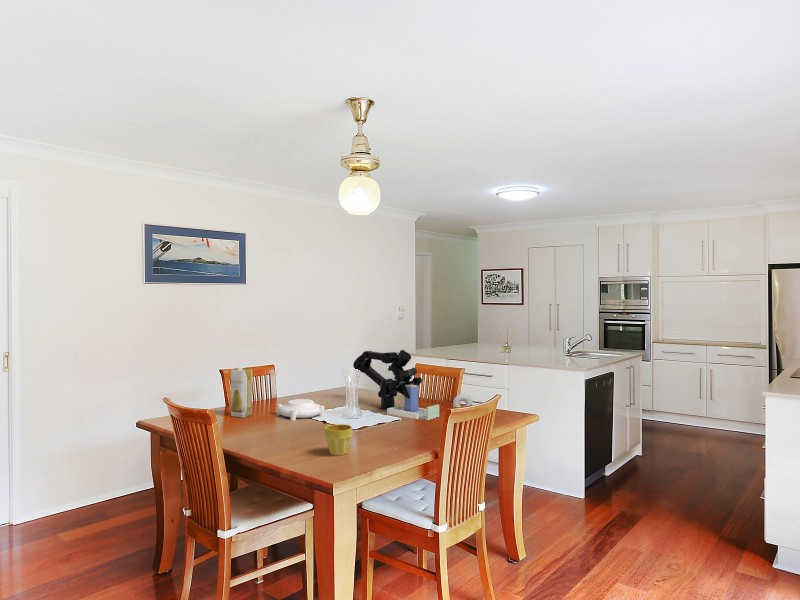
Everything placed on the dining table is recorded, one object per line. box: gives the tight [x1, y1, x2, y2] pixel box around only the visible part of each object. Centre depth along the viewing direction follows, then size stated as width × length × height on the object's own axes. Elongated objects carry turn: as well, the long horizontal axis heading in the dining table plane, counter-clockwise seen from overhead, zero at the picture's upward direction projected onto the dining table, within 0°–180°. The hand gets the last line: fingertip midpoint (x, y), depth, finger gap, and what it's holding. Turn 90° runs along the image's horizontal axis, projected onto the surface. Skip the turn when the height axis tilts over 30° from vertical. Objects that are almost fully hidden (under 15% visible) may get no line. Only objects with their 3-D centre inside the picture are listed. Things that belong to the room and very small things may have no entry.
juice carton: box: [230, 366, 253, 418], centre depth 273 cm, size 9×8×24 cm
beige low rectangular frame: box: [386, 404, 426, 420], centre depth 279 cm, size 19×12×2 cm, turn 50°
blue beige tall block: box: [404, 384, 419, 412], centre depth 278 cm, size 5×5×12 cm
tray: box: [401, 404, 440, 421], centre depth 275 cm, size 18×9×6 cm, turn 50°
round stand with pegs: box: [276, 398, 325, 422], centre depth 276 cm, size 24×24×7 cm
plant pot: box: [324, 423, 353, 456], centre depth 211 cm, size 10×10×10 cm
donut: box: [452, 393, 473, 409], centre depth 281 cm, size 10×4×10 cm, turn 94°
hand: (413, 397), depth 277 cm, fingers closed on blue beige tall block, 5 cm apart
